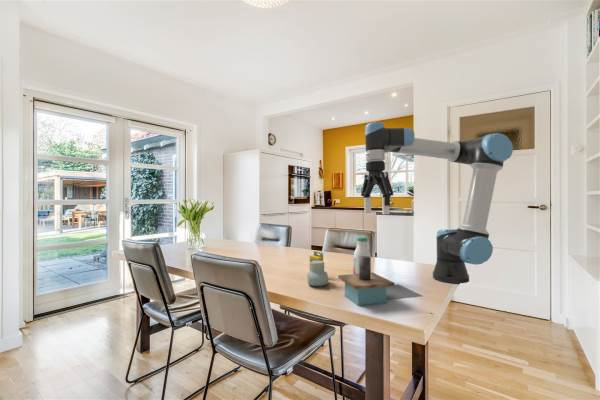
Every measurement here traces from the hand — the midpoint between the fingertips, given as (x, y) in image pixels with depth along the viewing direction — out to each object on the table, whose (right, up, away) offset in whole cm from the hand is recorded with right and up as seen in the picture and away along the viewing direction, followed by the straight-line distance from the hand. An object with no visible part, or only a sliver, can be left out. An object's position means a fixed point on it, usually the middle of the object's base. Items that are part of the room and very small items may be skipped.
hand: (376, 213), depth 123 cm
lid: (-7, -24, -12) cm, 28 cm away
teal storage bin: (-7, -31, -12) cm, 34 cm away
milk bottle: (-3, -31, +13) cm, 34 cm away
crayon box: (-23, -31, +22) cm, 45 cm away
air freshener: (-24, -32, +8) cm, 40 cm away
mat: (+6, -31, -3) cm, 32 cm away
